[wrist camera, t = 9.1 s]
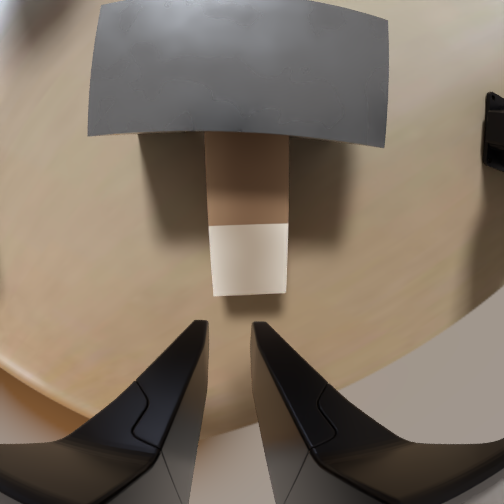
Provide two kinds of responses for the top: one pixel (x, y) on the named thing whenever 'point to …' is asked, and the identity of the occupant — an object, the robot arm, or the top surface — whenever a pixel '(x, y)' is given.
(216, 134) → the plug rod
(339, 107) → the grey u-shaped block
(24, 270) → the top surface
